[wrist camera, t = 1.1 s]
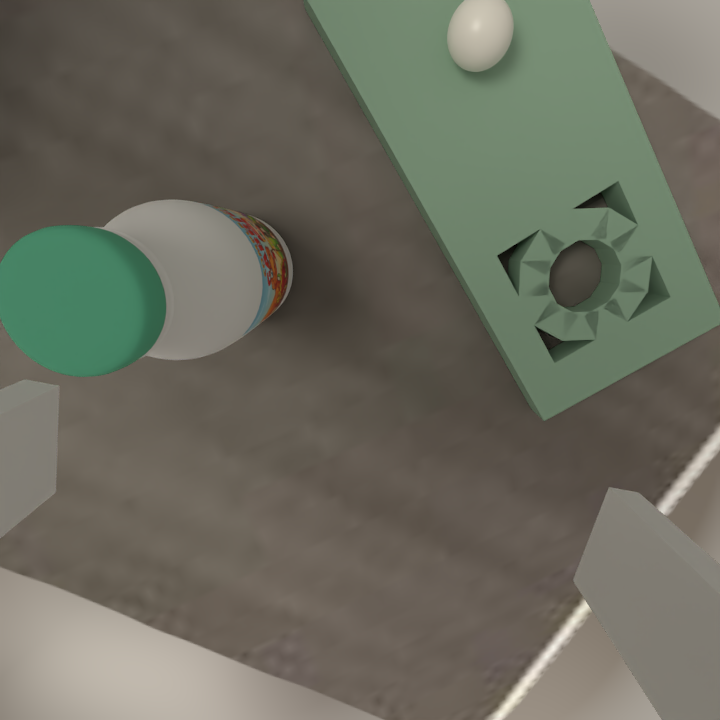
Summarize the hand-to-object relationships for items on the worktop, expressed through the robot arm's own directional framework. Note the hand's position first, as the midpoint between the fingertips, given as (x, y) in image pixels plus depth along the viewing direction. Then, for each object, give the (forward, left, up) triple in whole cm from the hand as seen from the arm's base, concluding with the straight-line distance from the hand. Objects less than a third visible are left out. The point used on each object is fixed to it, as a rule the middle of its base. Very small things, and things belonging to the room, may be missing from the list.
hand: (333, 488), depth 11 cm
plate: (-2, +15, -24) cm, 28 cm away
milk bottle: (-7, -5, -24) cm, 25 cm away
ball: (-10, +15, -19) cm, 27 cm away
